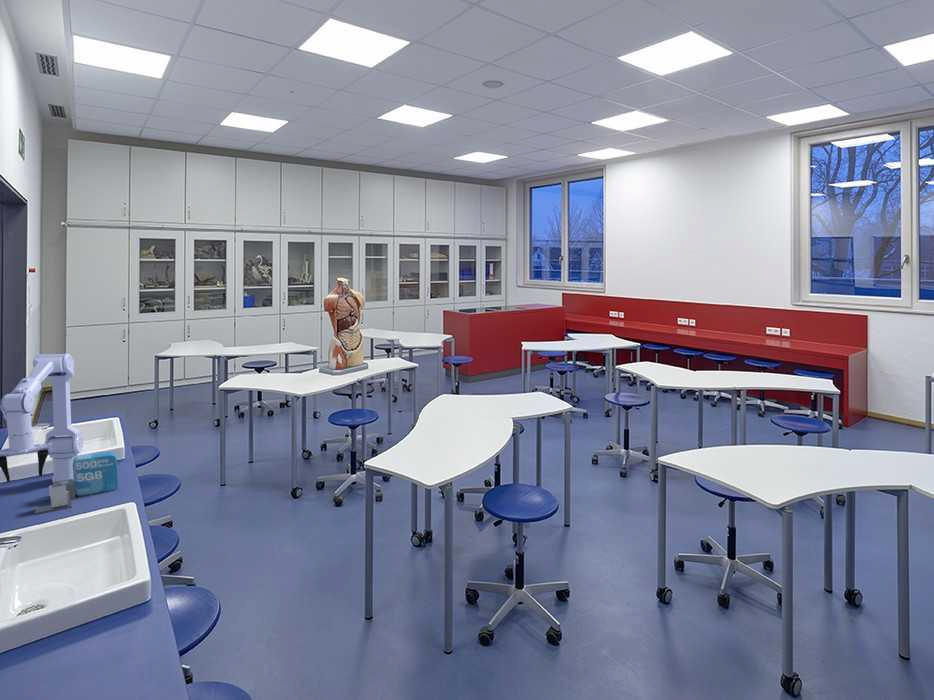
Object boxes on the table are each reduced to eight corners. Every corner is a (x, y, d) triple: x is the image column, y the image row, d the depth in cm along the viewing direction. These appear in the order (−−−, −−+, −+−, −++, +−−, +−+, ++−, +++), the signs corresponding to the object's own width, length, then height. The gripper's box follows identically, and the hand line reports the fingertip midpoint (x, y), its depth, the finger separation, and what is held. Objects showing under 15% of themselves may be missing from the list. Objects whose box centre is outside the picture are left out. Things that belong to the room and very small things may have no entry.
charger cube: (55, 497, 188) (53, 481, 187) (74, 493, 191) (72, 478, 190) (56, 502, 184) (54, 486, 183) (75, 498, 187) (74, 482, 186)
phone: (34, 511, 178) (34, 507, 178) (70, 504, 183) (70, 500, 183) (35, 517, 174) (34, 513, 174) (71, 510, 179) (71, 506, 179)
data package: (75, 496, 188) (71, 460, 187) (75, 492, 192) (72, 456, 190) (118, 489, 194) (116, 454, 193) (118, 485, 198) (115, 450, 197)
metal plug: (51, 504, 180) (48, 485, 180) (66, 501, 183) (64, 481, 182) (52, 507, 177) (49, 487, 176) (68, 504, 179) (65, 484, 179)
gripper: (-12, 440, 167) (-7, 487, 169) (51, 432, 176) (55, 476, 178) (-12, 435, 172) (-7, 480, 174) (49, 427, 182) (53, 470, 183)
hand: (24, 478), depth 176 cm, fingers open, 7 cm apart
